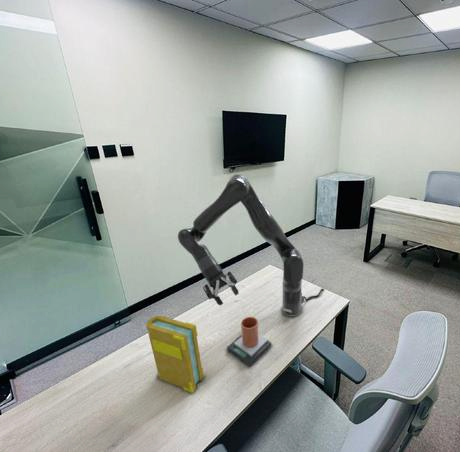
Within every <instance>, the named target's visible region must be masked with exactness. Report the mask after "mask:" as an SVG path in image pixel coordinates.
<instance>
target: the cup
mask: <svg viewBox="0 0 460 452" xmlns="http://www.w3.org/2000/svg"><path fill="white" fill-rule="evenodd" d="M240 329H241V335H242V343H243V345H244V346H245V347H248V348H252V347H255V346H256V345H257V344H258V342H259V336H258V334H259V320H258V318H256V317H254V316H246V317H245V318H243V319H242V320H241V321H240Z"/></svg>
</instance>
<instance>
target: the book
mask: <svg viewBox="0 0 460 452" xmlns="http://www.w3.org/2000/svg"><path fill="white" fill-rule="evenodd" d="M145 326H146V330H147V334H148V338H149V342H150V346H151V347H150V348H151V350H152V355H153V358H154V362H155V366H156V370H157V375H158V378H159V380H161V381H163V382H166V383H169V384H171V385H174V386H177V387H180V388H182V390H183V391H186V392H189V393H191V394H193V393H194V392H195V390H196V389H197V386H196V385H197V383H198V382H202V381H203V379H204V378H205V375H204V367H202V362H201V355H200V348H199V342H198V337H199V336H198V329H197V324H195V323H191V322H188V321H186V322H184V321H180V320H177V319H173V318H170V317H166V316H164V315H163V316H162V315H154V316H152V317H150V318H149V319H148V320H147V321H146V323H145Z"/></svg>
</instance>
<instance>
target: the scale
mask: <svg viewBox="0 0 460 452" xmlns="http://www.w3.org/2000/svg"><path fill="white" fill-rule="evenodd" d="M258 336H259V342H258V344H257V345H256V346H255V347H252V348H248V347H245V346H244V345H243V343H242V334H241V335H239V336H238V337H237V338H236V339H235V340H234V341H232V342H231V343H230V344H229V345H228V346H227V347H226V348H227V351H228V353H231V354H232V355H233V356H235V357H236V358H237V359H238V360H240V361H241V362H243V363H244V364H245V365H247V367H252V365H254V364H255V363H256V362H257V361H258V359H259V358H261V356H263V355H264V354H265V353H266V352H267V351H268V350H269V349H270V348H271V347H272V342H271V341H270V340H268V338H266V337H264V336H263V335H261V334H260V333H258Z"/></svg>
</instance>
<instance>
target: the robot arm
mask: <svg viewBox="0 0 460 452" xmlns="http://www.w3.org/2000/svg"><path fill="white" fill-rule="evenodd" d="M239 203H241V204H242V205H243V206H244V208H245V210H246V212H247V214H248V216H249V218H250V221H251V223H252V225H253V227H254V228H255V230H256V232H257V233H258V234H259V235H260V236H261V237H262V239H264V240H265V241H266V242H267V243H268V244H270V245H271V246H272V247H274V249H275V250H276V252H277V253H278V255H279V256H280V259H281V262H282V266H283V270H282V271H283V272H282V273H283V275H282V299H281V300H282V303H281V304H282V308H281V311H282V313H283V315H285V316H287V317H291V318H293V317H297V316H299V315H300V314H301V311H302V305H303V303H304V302H305V301H309V300H310V299H313V298H318V297H319V296H320V295H321V294H322V291H325V289H324V288H321V289H320V290H319V293H318V294H316V295H311V296H309V297H308V298H307V297H306V296H304V295H303V292H302V285H303V284H302V282H303V281H302V280H303V279H304V260H303V257H302V255H301V253H300V251H299V250H298V249H297V248H296V247H295V246H294V245H293V244H292V242H291V241H290V240H289V238H287V235H286V234H285V233H284V231H283V229H282V227H281V226H280V224H279V222H278V221H277V220H276V218H275V217H274V216H273V215H272V214H271V212H270V211H269V209H268V208H267V207H266V205H265V204H264V203H263V202H262V200H261V199H260V198H259V196H258V195H257V193H256V191H255V190H254V187H253V186H252V185H251V183H250V181H249V179H248V178H247V177H246V176H244V175H242V174H233V175H232V176H231V177H230V178H229V179H228V181H227V182H226V185H225V187H224V189H223V191H222V192H221V193H220V195H219V196H218V197H217V199H216V200H215V201H213V202H212V203H211V204H210V205H209V206H207V207H205V209H204V210H203V211H202V212H201V213H200V214H198V215H197V216H196V218H195V219H194V220H193V223H192V224H193V226H192V227H188V228H183V229H182V228H181V230H179V231H178V233H177V239H178V243H179V244H180V245H181V247H183V248H184V249H185V250H186V251H187V252H188V253H189V254H190V255H191V256H192V257H193V260H194V261H195V263H196V264H197V267H198V269H199V270H200V272H201V274H202V275H203V277H204V278H205V280H206V281H207V283H206V284H204V286H202V289H203V291H204V293H205V295H206V297H207V299H208V300H212V299H213V300H214V301H215V302H216V304H217V305H218V306H222V305H224V301H222V299H221V297H220V296H219V290H220V289H222V288H224V287H229V288H230V289H231V291H232V293H233V294H234V296H237V295H239V289H238V288H237V286H236V284H237V283H238V280H237V279H236V277H235V276H234V275H233V273H232V272H231V271H228V272H226V273H224V272H223V269H222V268H221V266H220V264H219V263H218V262H217V260H216V258H215V257H214V256H213V254H212V253H211V251H210V250H209V248H208V247H207V245H205V244H202V243H199V242H200V241H201V240H203V238H204V237H205V235H206V234H207V232H208V231H209V230H210V229H211V228H212V227H213V226H214V225H215V223H216V222H218V221H219V220H220V218H222V216H223V215H224V214H225V213H227V212H228V211H229V210H230V209H232V208H233V207H235V206H236V205H237V204H239ZM211 288H212V290H211Z"/></svg>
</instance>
